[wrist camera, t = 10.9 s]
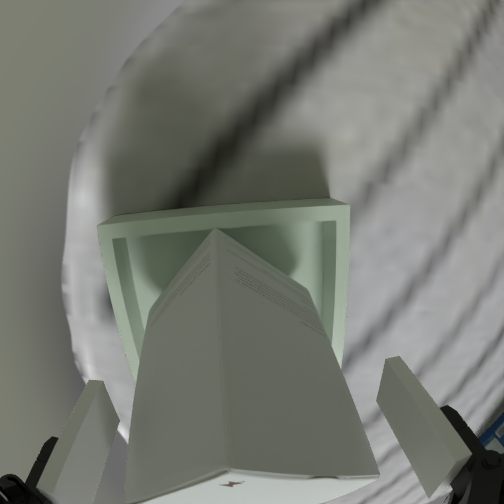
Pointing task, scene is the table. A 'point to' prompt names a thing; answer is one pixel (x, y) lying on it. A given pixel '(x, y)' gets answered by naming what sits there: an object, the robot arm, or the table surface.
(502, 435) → the protein box
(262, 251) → the green tray
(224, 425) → the supplement box
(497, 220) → the table surface
